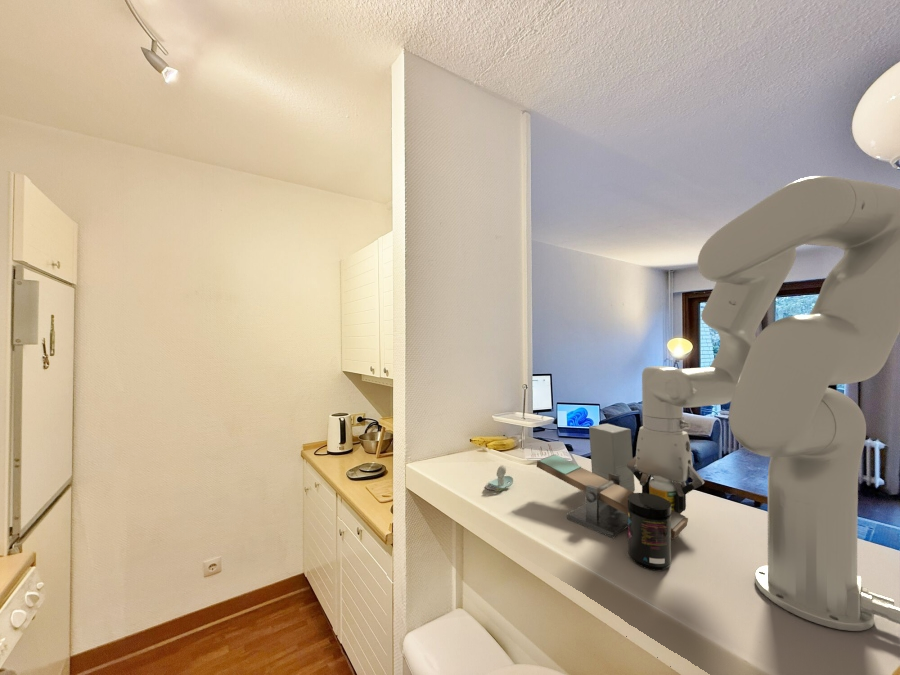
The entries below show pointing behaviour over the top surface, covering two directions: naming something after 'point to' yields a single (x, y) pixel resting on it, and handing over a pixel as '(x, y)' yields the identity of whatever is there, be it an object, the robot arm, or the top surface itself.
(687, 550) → the top surface
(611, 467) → the skincare box
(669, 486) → the supplement bottle
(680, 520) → the beam
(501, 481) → the pacifier
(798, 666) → the top surface
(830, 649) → the top surface
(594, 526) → the beam stand
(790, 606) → the robot arm
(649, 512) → the supplement container
